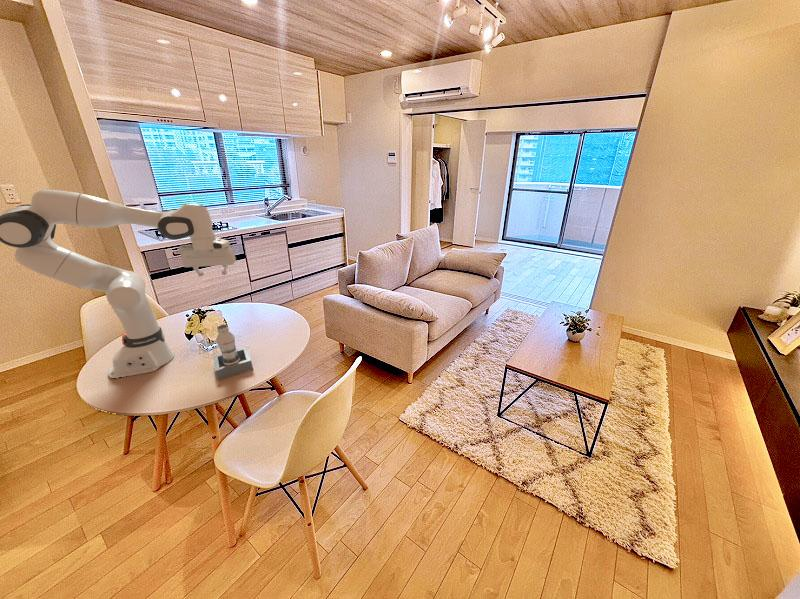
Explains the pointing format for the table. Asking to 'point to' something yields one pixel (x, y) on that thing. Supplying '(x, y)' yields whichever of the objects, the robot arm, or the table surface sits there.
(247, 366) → the collar socket
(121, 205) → the robot arm
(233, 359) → the plastic bottle
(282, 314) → the table surface
